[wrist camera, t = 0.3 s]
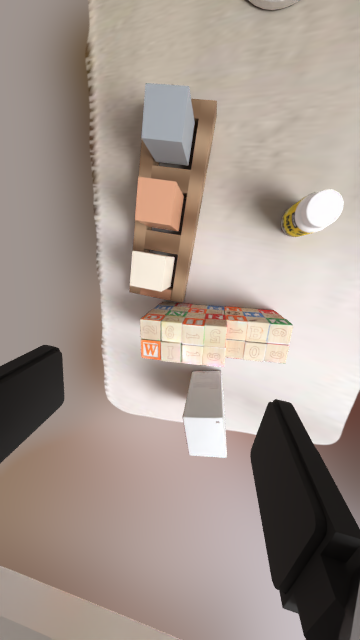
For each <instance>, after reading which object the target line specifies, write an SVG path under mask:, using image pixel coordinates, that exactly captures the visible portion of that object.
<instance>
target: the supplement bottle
mask: <svg viewBox="0 0 360 640" xmlns="http://www.w3.org/2000/svg"><path fill="white" fill-rule="evenodd" d="M342 210H343V198H342V196H341V195H340V193H339V192H337V191H335V190H332V189H326V190H322V191H320V192H315V193H312V194H309V195H307V196H306V197H304V198H303V199H301V200H300V201H298V202H297V203H296V204H294V205H293V206H291V207H290V208H289V209H287V211H286V212H285V213H284V215H283V217H282V220H281V227H282V230H283V231H284V233H285V234H287V235H288V236H291V237H299V236H303V235H306V234H310V233H314V232H317V231H320V230H322V229H324V228H325V227H326V226H327V225H330V224H331V223H333V222H334V221H335V220H336V219H337V218H338V217H339V216H340V214H341V212H342Z"/></svg>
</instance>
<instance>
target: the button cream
mask: <svg viewBox="0 0 360 640" xmlns="http://www.w3.org/2000/svg"><path fill="white" fill-rule="evenodd" d="M174 259H175V257H171V256H165V255H160V254H154V253H148V252H140V251H132V262H131V275H130V286H135V287H140V288H145V289H150V290H155V291H160V292H162V291H164V290H165V289H167V288H169V287H170V286H171V279H172V272H173V266H174Z"/></svg>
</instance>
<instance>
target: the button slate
mask: <svg viewBox="0 0 360 640" xmlns="http://www.w3.org/2000/svg"><path fill="white" fill-rule="evenodd" d="M194 124H195V121H194V115H193V108H192V102H191V95H190V89H189V86H179V85H165V84H151V83H146V86H145V99H144V111H143V124H142V136H141V138H142V140H143V141H144V143H145V145H146V146H147V148H148V150H149V151H150V153H151V155H152V156H153V158H154V159H155V161H156V162H163V163H171V164H179V165H189V158H190V151H191V144H192V138H193V131H194Z"/></svg>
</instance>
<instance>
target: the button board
mask: <svg viewBox="0 0 360 640" xmlns="http://www.w3.org/2000/svg"><path fill="white" fill-rule="evenodd" d="M191 102H192V108H193V115H194V121H195V124H194V131H195V132H197V134H196V141H195V147H194V154H193V161H192V167H191V170H187V169H179V168H171V167H162V166H159V162H156V161H155V159H154V158H153V156H152V155H151V153H150V151H149V150H148V148H147V146H146V145H145V143H144V141H143V140H142V142H141V155H140V167H139V177H144V178H152V179H160V180H167V181H175V182H177V184H178V186H179V188H180V190H181V192H182V194H183V196H184V198H186V199H187V200H186V206H185V213H184V219H183V226H182V232H181V235H175V234H169V233H163V232H157V231H152V227H148V226H146V225H144V224H142V223H140V222H138V221H136V220H135V229H134V242H133V251H140V252H148V253H149V252H150V250H155V251H160V252H166V253H172V254H177V255H178V259H177V265H176V272H175V278H174V285H173V287H171V286H170V287H169V288H167V289H165V290H164V291H162V292H160V291H155V290H150V289H145V288H140V287H135V286H130V292H131V293H136V294H141V295H146V296H151V297H156V298H160V299H165V300H170V301H175V302H180V303H182V302H183V301H184V299H185V293H186V287H187V282H188V276H189V270H190V265H191V259H192V253H193V247H194V242H195V236H196V230H197V225H198V219H199V213H200V208H201V202H202V196H203V191H204V185H205V179H206V173H207V168H208V162H209V156H210V151H211V145H212V139H213V134H214V128H215V122H216V116H217V101H213V100H200V99H191Z"/></svg>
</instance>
